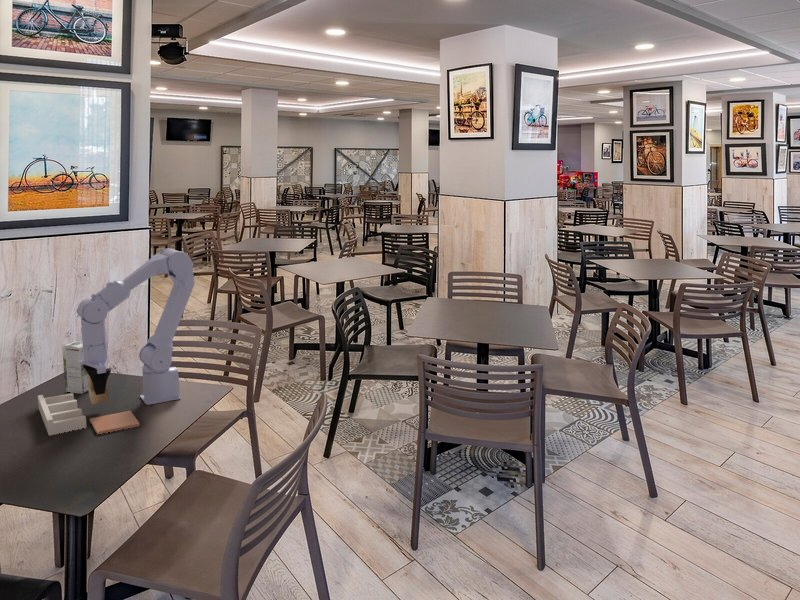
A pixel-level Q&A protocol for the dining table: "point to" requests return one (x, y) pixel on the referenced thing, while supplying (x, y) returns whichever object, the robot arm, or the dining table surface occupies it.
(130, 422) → the terracotta tile
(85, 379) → the white carton
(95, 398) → the block
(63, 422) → the slot rack
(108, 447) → the dining table surface
